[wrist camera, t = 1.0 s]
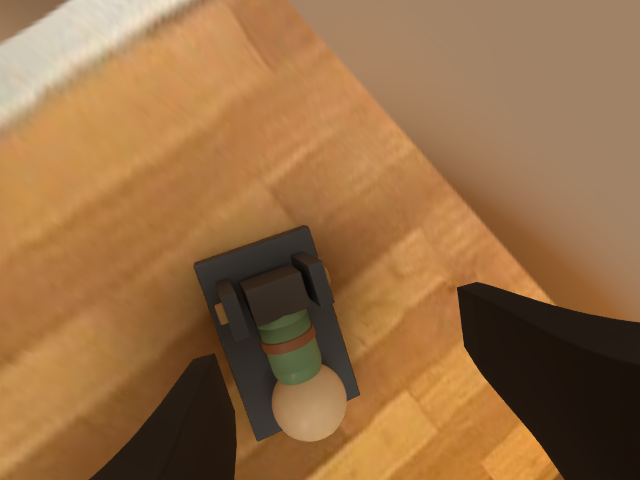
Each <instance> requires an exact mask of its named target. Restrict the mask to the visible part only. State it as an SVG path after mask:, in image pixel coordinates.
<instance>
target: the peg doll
mask: <svg viewBox="0 0 640 480" xmlns="http://www.w3.org/2000/svg"><path fill="white" fill-rule="evenodd" d="M239 285H240V287H241V290H242V293H243V296H244V299H245V302H246V305H247V308H248V311H249V314H250V316H251V318H252V320H253V321H254V323H255V325H256V327H257V328H258V331H259V334H260V336H261V339H260V342H261V345H262V348H263V351H264V352H265V353H266V354H267V357H268V360H269V363H270V366H271V368H272V371H273V373H274V375H275V377H276V378H277V379H278V381H277V383H276V385H275V387H274V390H273V395H272V410H273V414H274V417H275V419H276V421H277V423H278V425H279V426H280V427H281V429H282V430H283V431H284V432H285V433H286V434H288V435H289V436H291V437H292V438H295V439H297V440H300V441H307V442H312V441H318V440H321V439H324V438H326V437H327V436H329V435H331V434H332V433H333V432H334V431H335V430H336V429H337V428H338V427H339V425H340V424H341V422H342V420H343V418H344V415H345V412H346V407H347V396H346V391H345V388H344V385H343V383H342V381H341V379H340V378H339V377H338V375H337V374H336V373H335V372H334V371H333V370H332V369H330V368H329V367H327V366H325V365H323V364H321V353H320V350H319V347H318V344H317V341H316V337H315V335H316V332H315V328H314V325H313V323H312V322H311V321H310V319H309V316H308V312H307V308H309V307H311V304H310V300H309V297H308V294H307V291H306V288H305V285H304V282H303V278H302V275H301V272H300V271H299V270H297V269H296V268H294V267H293V266H291V265H290V264H288V265H285V266H282V267H279V268H277V269H274V270H271V271H268V272H266V273H263V274H260V275H257V276H255V277H252V278H249V279H246V280H244V281H241V282H239Z"/></svg>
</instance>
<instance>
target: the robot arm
mask: <svg viewBox="0 0 640 480" xmlns="http://www.w3.org/2000/svg"><path fill="white" fill-rule="evenodd" d="M457 292H458V300H459V308H460V316H461V324H462V332H463V341H464V347H465V348H466V350H467V352H468V353H469V355H470V357H471V358H472V360H473V362H474V363H475V365H476V366H477V368H478V369H479V371H480V372H481V374H482V375H483V376H484V378H485V379H486V380H487V381H488V382H489V384H490V385H491V386H492V387H493V388H494V390H495V391H496V392H497V393H498V394H499V396H500V397H501V398H502V399H503V400H504V401H505V403H506V404H507V405H508V406H509V407H510V408H511V410H512V411H513V412H514V413H515V414H516V415H517V417H518V418H519V419H520V420H521V421H522V423H523V424H524V425H525V426H526V427H527V428H528V430H529V431H530V432H531V433H532V435H533V436H534V437H535V438H536V440H537V441H538V442H539V443H540V445H541V446H542V448H543V449H544V450H545V452H546V453H547V455H548V456H549V458H550V459H551V461H552V462H553V464H554V465H555V466H556V468H557V469H558V471H559V472H560V474H561V475H562V477H563V478H564V479H565V480H640V323H639V322H631V321H624V320H617V319H611V318H607V317H602V316H596V315H590V314H586V313H582V312H577V311H573V310H569V309H565V308H562V307H558V306H554V305H551V304H547V303H544V302H540V301H537V300H534V299H531V298H528V297H524V296H521V295H518V294H515V293H512V292H509V291H506V290H503V289H500V288H497V287H493V286H490V285H487V284H483V283H479V282H475V283H471V284H468V285H464V286H460V287H457ZM236 446H237V441H236V422H235V410H234V407H233V405H232V402H231V399H230V396H229V393H228V390H227V387H226V385H225V382H224V379H223V376H222V373H221V370H220V367H219V365H218V362H217V359H216V356H215V353H214V354H211V355H207V356H203V357H200V358H196V359H193V360H192V361H191V363H190V364H189V365H188V367H187V368H186V369H185V371H184V372H183V374H182V375H181V376H180V378H179V379H178V381H177V382H176V383H175V385H174V386H173V387H172V389H171V390H170V391H169V393H168V394H167V396H166V397H165V398H164V400H163V401H162V402H161V404H160V405H159V406H158V407H157V409H156V410H155V411H154V412H153V413H152V415H151V416H150V417H149V418H148V420H147V421H146V422H145V423H144V424H143V426H142V427H141V428H140V429H139V430H138V432H137V433H136V434H135V435H134V436H133V437H132V438H131V439H130V441H129V442H128V443H127V444H126V445H125V446H124V447H123V448H122V449H121V450H120V451H119V452H118V453H117V454H116V455H115V456H114V457H113V458H112V459H111V460H110V461H109V462H108V463H107V464H106V465H105V466H104V467H103V468H102V469H100V470H99V471H98V472H97V473H96V474H95V475H94V476H93V477H91V478H90V479H89V480H234V474H235V461H236Z"/></svg>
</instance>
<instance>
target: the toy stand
mask: <svg viewBox="0 0 640 480" xmlns="http://www.w3.org/2000/svg"><path fill="white" fill-rule="evenodd" d="M288 264H290V265H291V266H293V267H294V268H296V269H297V270H299V271H300V272H301V275H302V278H303V282H304V285H305V288H306V291H307V294H308V297H309V300H310V304H311V307H309V308H307V312H308V316H309V319H310V321H311V322H312V323H313V325H314V328H315V332H316V335H315V337H316V341H317V344H318V347H319V350H320V353H321V364H323V365H325V366H327V367H329V368H330V369H332V370H333V371H334V372H335V373H336V374H337V375H338V377H339V378H340V379H341V381H342V383H343V385H344V388H345V391H346V396H347V401H348V400H350V399H353V398H355V397H357V396H359V395H360V392H359V389H358V386H357V383H356V379H355V376H354V373H353V370H352V366H351V363H350V360H349V357H348V353H347V350H346V347H345V344H344V340H343V337H342V334H341V331H340V327H339V324H338V321H337V318H336V314H335V311H334V308H333V305H332V304H333V303H334V299H333V296H332V292H331V289H330V286H329V284H330V283H331V279H330V275H329V272H328V270H327V268H326V267H325V266H324V265H323V263H322V261H321V260H319V259H318V256H317V252H316V249H315V246H314V243H313V239H312V236H311V233H310V230H309V227H308V226H305V225H303V226H300V227H297V228H294V229H292V230H289V231H286V232H283V233H280V234H277V235H274V236H271V237H268V238H265V239H262V240H259V241H257V242H254V243H251V244H248V245H245V246H242V247H239V248H236V249H233V250H230V251H227V252H224V253H221V254H219V255H216V256H213V257H210V258H207V259H204V260H201V261H198V262H195V263H194V269H195V271H196V274H197V277H198V280H199V282H200V285H201V288H202V291H203V294H204V296H205V299H206V302H207V305H208V307H209V310H210V313H211V316H212V318H213V321H214V324H215V327H216V329H217V332H218V335H219V338H220V340H221V343H222V346H223V349H224V352H225V354H226V357H227V360H228V363H229V365H230V368H231V371H232V374H233V376H234V379H235V382H236V385H237V387H238V390H239V393H240V396H241V398H242V401H243V404H244V407H245V410H246V412H247V415H248V418H249V421H250V423H251V426H252V429H253V432H254V434H255V437H256V440H257V441H260V440H262V439H265V438H267V437H269V436H271V435H273V434H276V433H278V432H280V431H282V429H281V427H280V426H279V425H278V423H277V421H276V419H275V417H274V414H273V410H272V395H273V390H274V387H275V385H276V383H277V381H278V379H277V378H276V377H275V375H274V373H273V371H272V368H271V366H270V363H269V360H268V357H267V354H266V353H265V352H264V351H263V348H262V345H261V342H260V339H261V336H260V334H259V331H258V328H257V327H256V325H255V323H254V321H253V320H252V318H251V316H250V314H249V311H248V308H247V305H246V302H245V299H244V296H243V293H242V290H241V287H240V285H239V282H241V281H244V280H246V279H249V278H252V277H255V276H257V275H260V274H263V273H266V272H268V271H271V270H274V269H277V268H279V267H282V266H285V265H288Z"/></svg>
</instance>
